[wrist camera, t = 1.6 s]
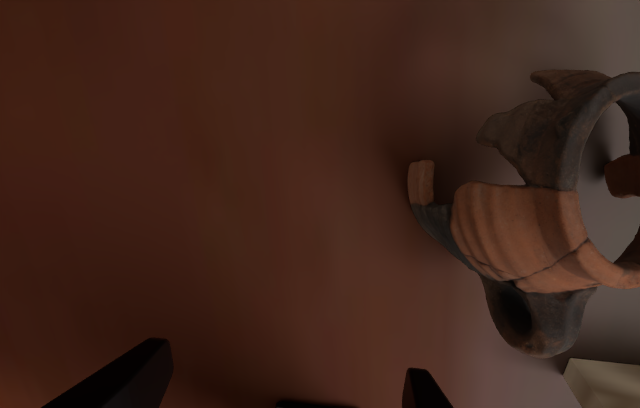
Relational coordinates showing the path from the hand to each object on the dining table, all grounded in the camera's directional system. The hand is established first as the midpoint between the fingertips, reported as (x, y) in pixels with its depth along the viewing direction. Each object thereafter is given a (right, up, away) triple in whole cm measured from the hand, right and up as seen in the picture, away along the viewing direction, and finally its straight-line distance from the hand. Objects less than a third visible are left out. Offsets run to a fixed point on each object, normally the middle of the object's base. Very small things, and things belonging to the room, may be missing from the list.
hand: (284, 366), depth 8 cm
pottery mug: (+10, +4, +10) cm, 15 cm away
